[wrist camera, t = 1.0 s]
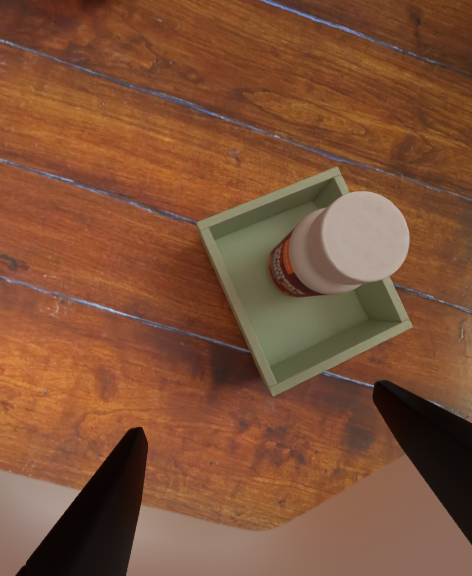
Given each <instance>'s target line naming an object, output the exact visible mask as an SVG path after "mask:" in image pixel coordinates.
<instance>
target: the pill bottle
mask: <svg viewBox="0 0 472 576" xmlns="http://www.w3.org/2000/svg"><path fill="white" fill-rule="evenodd" d="M408 248H409V230H408V227H407V224H406V221H405V219H404V217H403V215H402V213H401V212H400V211H399V209H398V208H397V207H396V206H395V205H394V204H393V203H392V202H391V201H389V200H388V199H386V198H385V197H383V196H381V195H379V194H376V193H372V192H366V191H358V192H352V193H348V194H346V195H344V196H341V197H340V198H338V199H337V200H335V201H334V202H333V203H332V204H330V205H329V206H328V207H327V208H322V209H319V210H316V211H314V212H312V213H310V214H309V215H307V216H306V217H305V218H304V219H302V220H301V221H300V222H299V223H298V224H297V226H296V227H295V228H294V229H293V230H292V231H290V233H289V234H288V235H286V237H285V238H284V239H282V240H281V242H280V243H278V244H277V246H276V247H275V248H274V249H273V250H272V252H271V253H270V256H269V258H268V263H267V272H268V276H269V279H270V281H271V283H272V284H273V286H274V287H275V288H276V289H277V290H278V291H279V292H281V293H283V294H285V295H287V296H290V297H312V296H325V295H337V294H342V293H346V292H349V291H352V290H354V289H356V288H358V287H359V286H360V285H362V284H364V283H370V282H376V281H379V280H382V279H385V278H387V277H388V276H390V275H391V274H393V273H394V272H395V271H397V270H398V269H399V267H400V266H401V265H402V263H403V262H404V260H405V258H406V255H407V253H408Z"/></svg>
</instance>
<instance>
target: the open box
mask: <svg viewBox="0 0 472 576" xmlns="http://www.w3.org/2000/svg"><path fill="white" fill-rule="evenodd" d="M340 174H341V173H340V171H339V169H338V167H335V168H332V169H330V170H327V171H325V172H322V173H320V174H317V175H315V176H312V177H309V178H307V179H304V180H302V181H299V182H297V183H294V184H292V185H289V186H287V187H284V188H282V189H279V190H277V191H274V192H272V193H269V194H267V195H264V196H262V197H259V198H257V199H254V200H252V201H249V202H247V203H244V204H241V205H239V206H236V207H234V208H231V209H229V210H226V211H224V212H221V213H219V214H216V215H214V216H211V217H209V218H206V219H204V220H201V221H199V222H197V223H196V224H197V228H198V231H199V235H200V238H201V241H202V243H203V246H204V248H205V250H206V252H207V255H208V257H209V259H210V262H211V264H212V266H213V268H214V271H215V273H216V275H217V278H218V280H219V282H220V284H221V287H222V289H223V291H224V294H225V296H226V298H227V300H228V303H229V305H230V307H231V309H232V312H233V314H234V316H235V319H236V321H237V323H238V325H239V328H240V330H241V332H242V335H243V337H244V339H245V341H246V344H247V346H248V348H249V351H250V353H251V355H252V357H253V360H254V362H255V364H256V367H257V369H258V371H259V373H260V376H261V378H262V379H263V381H264V383H265V385H266V386H267V388H268V390H269V392H270V393H271V395H272V397H274V396H276V395H278V394H280V393H282V392H284V391H286V390H288V389H290V388H292V387H294V386H296V385H298V384H300V383H302V382H304V381H306V380H308V379H310V378H312V377H314V376H316V375H318V374H320V373H322V372H324V371H326V370H328V369H330V368H332V367H334V366H336V365H338V364H340V363H342V362H344V361H346V360H348V359H350V358H352V357H354V356H356V355H358V354H360V353H362V352H364V351H366V350H368V349H370V348H372V347H374V346H376V345H378V344H380V343H382V342H384V341H386V340H388V339H390V338H392V337H394V336H396V335H398V334H400V333H402V332H404V331H406V330H408V329H410V328H412V327H413V326H412V324H411V322H410V320H409V317H408V315H407V313H406V311H405V309H404V307H403V305H402V302H401V300H400V298H399V296H398V294H397V292H396V290H395V288H394V285H393V283H392V281H391V279H390V277H389V276H388V277H387V278H385V279H382V280H379V281H376V282H370V283H364V284H362V285H360V286H359V287H358V288H356V289H354V290H352V291H349V292H346V293H342V294H337V295H325V296H312V297H290V296H287V295H285V294H283V293H281V292H279V291H278V290H277V289H276V288H275V287H274V286H273V284H272V283H271V281H270V279H269V276H268V272H267V263H268V258H269V256H270V253H271V252H272V250H273V249H274V248H275V247H276V246H277V244H278V243H280V242H281V240H282V239H284V238H285V237H286V235H288V234H289V233H290V231H292V230H293V229H294V228H295V227H296V226H297V224H298V223H299V222H300V221H301V220H302V219H304V218H305V217H306V216H307V215H309V214H310V213H312V212H314V211H316V210H319V209H322V208H327V207H328V206H329V205H330V204H332V203H333V202H334V201H335V200H337V199H338V198H340V197H341V196H344V195H346V194H348V193H350V192H349V190H348V188H347V186H346V183H345V181H344V179H343V177H342V175H340Z"/></svg>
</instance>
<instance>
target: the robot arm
mask: <svg viewBox="0 0 472 576" xmlns="http://www.w3.org/2000/svg"><path fill="white" fill-rule="evenodd" d="M373 402H374V404H375V405H376V407H377V409H378V410H379V412H380V414H381V415H382V417H383V419H384V420H385V422H386V424H387V425H388V427H389V429H390V430H391V432H392V434H393V435H394V437H395V438H396V440H397V442H398V443H399V445H400V446H401V448H402V449H403V450H404V452H405V453H406V455H407V456H408V457H409V459H410V460H411V461H412V463H413V464H414V466H415V467H416V468H417V470H418V471H419V473H420V474H421V475H422V477H423V478H424V479H425V481H426V482H427V484H428V485H429V486H430V488H431V489H432V490H433V492H434V493H435V495H436V496H437V497H438V499H439V500H440V502H441V503H442V504H443V506H444V507H445V509H446V510H447V511H448V513H449V514H450V516H451V517H452V518H453V520H454V521H455V522H456V524H457V525H458V527H459V528H460V529H461V531H462V532H463V534H464V535H465V536H466V537H467V539H468V540H469V542H470V543H471V545H472V423H470V422H468V421H467V420H465V419H463V418H461V417H459V416H457V415H455V414H453V413H451V412H449V411H447V410H445V409H443V408H441V407H439V406H437V405H435V404H433V403H431V402H429V401H427V400H425V399H423V398H421V397H419V396H417V395H415V394H413V393H411V392H409V391H407V390H405V389H403V388H401V387H399V386H397V385H395V384H393V383H391V382H389V381H387V380H382V381H377V382H375V384H374V390H373ZM147 452H148V442H147V439H146V436H145V433H144V430H143V428H142V427H136V428H131V429H129V430H128V431H127V433H126V434H125V435H124V436H123V438H122V439H121V440H120V442H119V443H118V444H117V445H116V447H115V448H114V449H113V451H112V452H111V453H110V454H109V456H108V457H107V458H106V460H105V461H104V462H103V464H102V465H101V466H100V467H99V469H98V470H97V471H96V473H95V474H94V475H93V476H92V478H91V479H90V480H89V482H88V483H87V484H86V485H85V487H84V488H83V489H82V491H81V492H80V493H79V494H78V496H77V497H76V498H75V500H74V501H73V502H72V503H71V505H70V506H69V508H68V509H67V510H66V511H65V512H64V514H63V515H62V516H61V518H60V519H59V520H58V522H57V523H56V524H55V525H54V527H53V528H52V529H51V531H50V532H49V533H48V535H47V536H46V537H45V538H44V540H43V541H42V542H41V544H40V545H39V546H38V547H37V549H36V550H35V551H34V552H33V554H32V555H31V556H30V558H29V559H28V560H27V562H26V565H24V566H23V567H22V568H21V569H20V571H19V572H18V573H17V574H16V576H126V573H127V568H128V563H129V559H130V554H131V549H132V544H133V540H134V534H135V530H136V526H137V521H138V516H139V511H140V506H141V501H142V494H143V486H144V477H145V469H146V461H147Z"/></svg>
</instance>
